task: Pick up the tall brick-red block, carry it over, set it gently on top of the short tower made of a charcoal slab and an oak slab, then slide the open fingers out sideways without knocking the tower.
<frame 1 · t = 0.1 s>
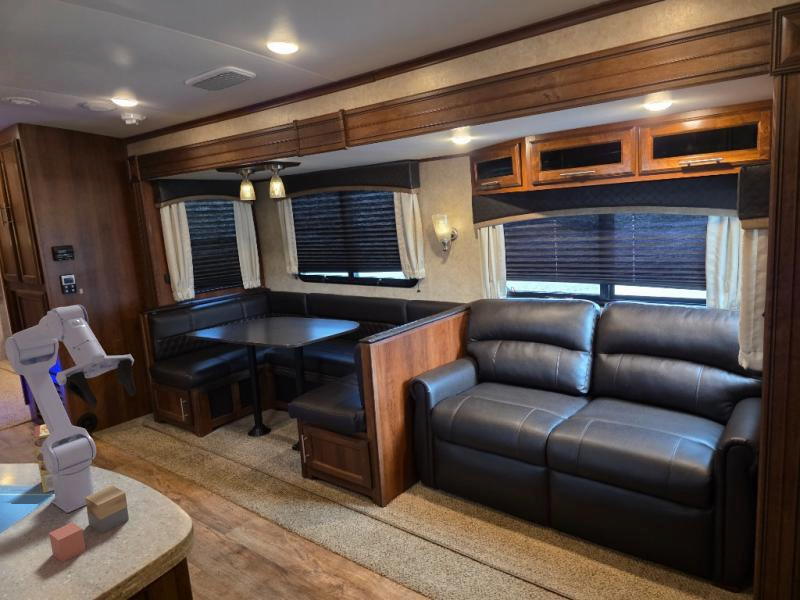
hand: (114, 399, 106), 32 cm above the counter, tool tilted 50°, fingers open, 7 cm apart
candy box: (52, 484, 137), on the counter
tower middle: (107, 508, 118), point 3 cm above the counter, touching tower base
red block: (69, 552, 108), on the counter
tower base: (109, 522, 119), on the counter, touching tower middle
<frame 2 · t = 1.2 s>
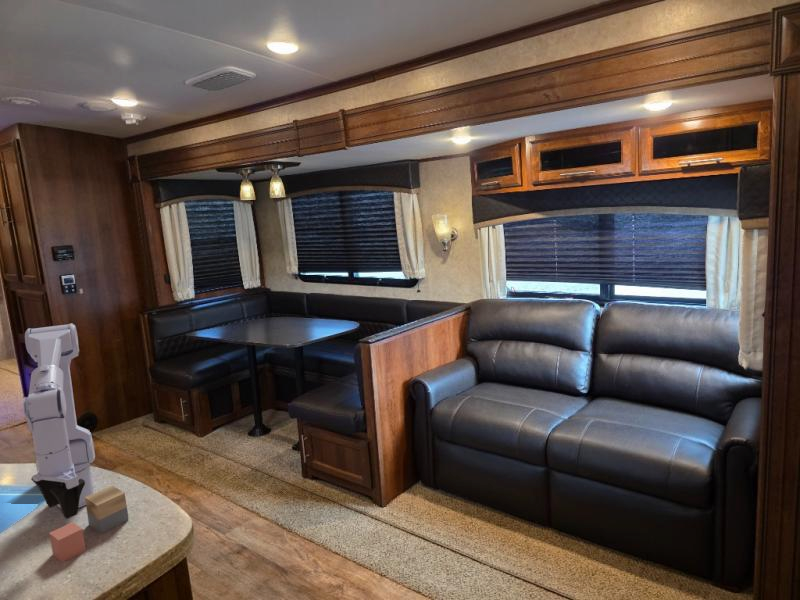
hand: (62, 510, 107), 10 cm above the counter, tool pointing down, fingers open, 7 cm apart
nothing on the counter moved.
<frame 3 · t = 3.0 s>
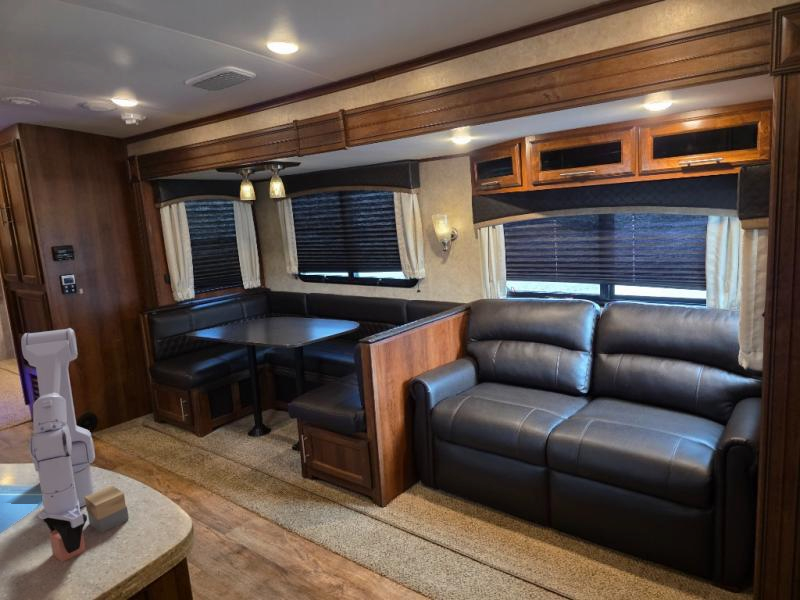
hand: (68, 546, 108), 1 cm above the counter, tool pointing down, fingers closed on red block, 4 cm apart
tower middle: (106, 509, 118), point 3 cm above the counter
red block: (69, 552, 108), on the counter, touching gripper
tower base: (109, 522, 119), on the counter
everything else where it was.
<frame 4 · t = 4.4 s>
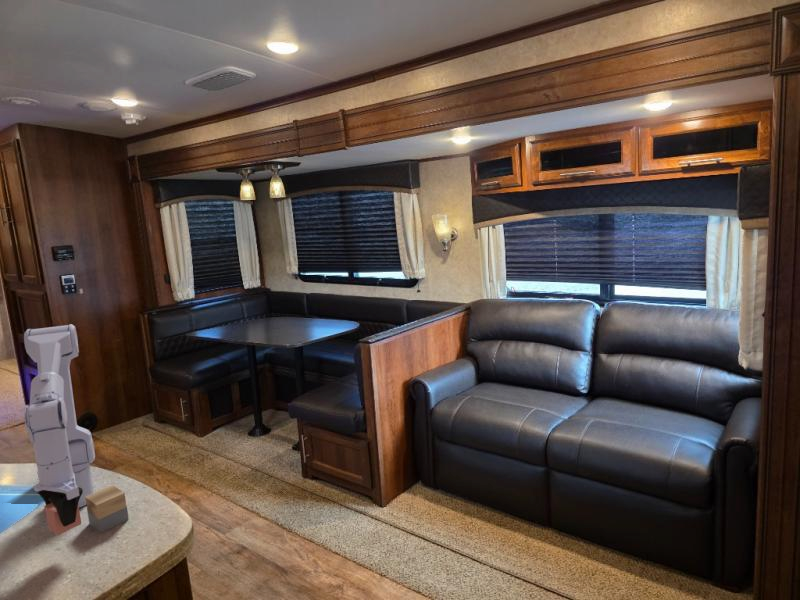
hand: (63, 519, 107), 7 cm above the counter, tool pointing down, fingers closed on red block, 4 cm apart
red block: (64, 526, 107), point 6 cm above the counter, touching gripper
everything else where it was.
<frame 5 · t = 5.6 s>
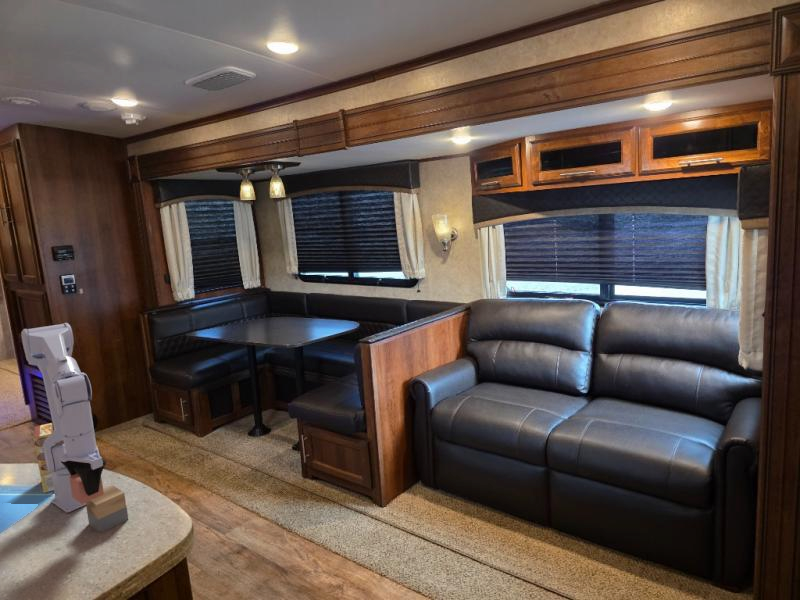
hand: (87, 489, 113), 10 cm above the counter, tool pointing down, fingers closed on red block, 4 cm apart
tower middle: (106, 508, 118), point 3 cm above the counter, touching tower base
red block: (88, 496, 113), point 9 cm above the counter, touching gripper
tower base: (108, 522, 119), on the counter, touching tower middle
everything else where it was.
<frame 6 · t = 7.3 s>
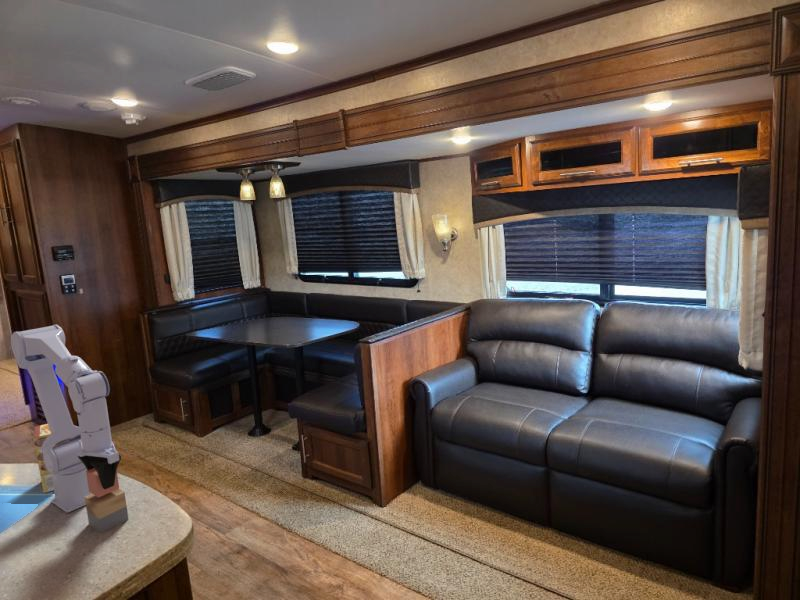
hand: (103, 484, 117), 9 cm above the counter, tool pointing down, fingers closed on red block, 4 cm apart
red block: (104, 490, 117), point 8 cm above the counter, touching gripper
everything else where it was.
when the fingers open (9 cm above the counter, at t = 7.6 s): red block drops 1 cm, resting on tower middle.
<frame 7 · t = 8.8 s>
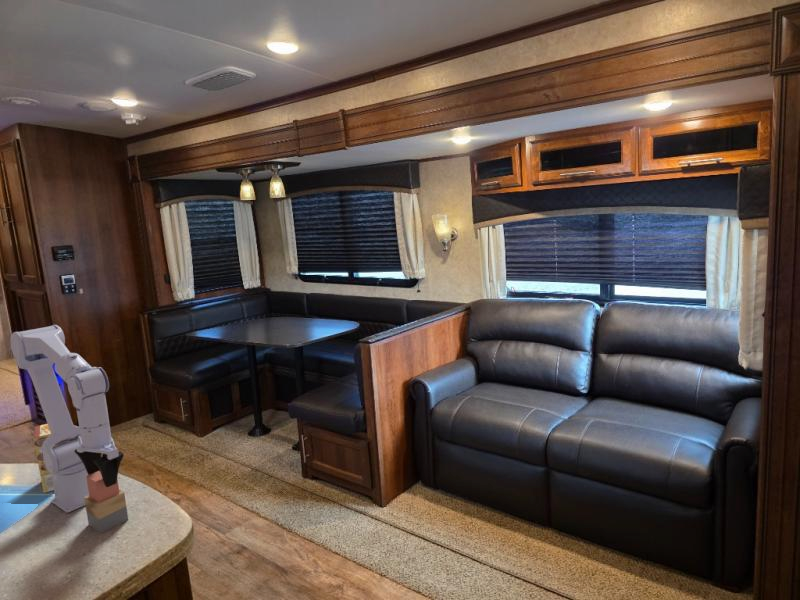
hand: (102, 480, 117), 10 cm above the counter, tool pointing down, fingers open, 7 cm apart
tower middle: (106, 508, 118), point 3 cm above the counter, touching red block, tower base
red block: (104, 494, 117), point 7 cm above the counter, touching tower middle
everything else where it was.
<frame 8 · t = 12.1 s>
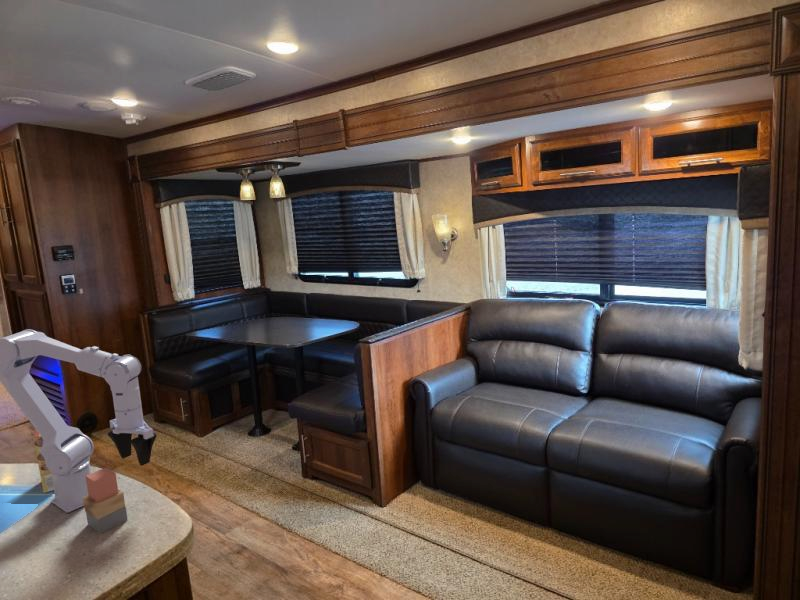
hand: (135, 460, 126), 10 cm above the counter, tool pointing down, fingers open, 7 cm apart
nothing on the counter moved.
at the end: red block 0.1 cm off-centre on the tower middle, point 3.5 cm above the tower middle's base; tower middle 0.1 cm off-centre on the tower base, point 3.5 cm above the tower base's base; red block tilted 0° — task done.
